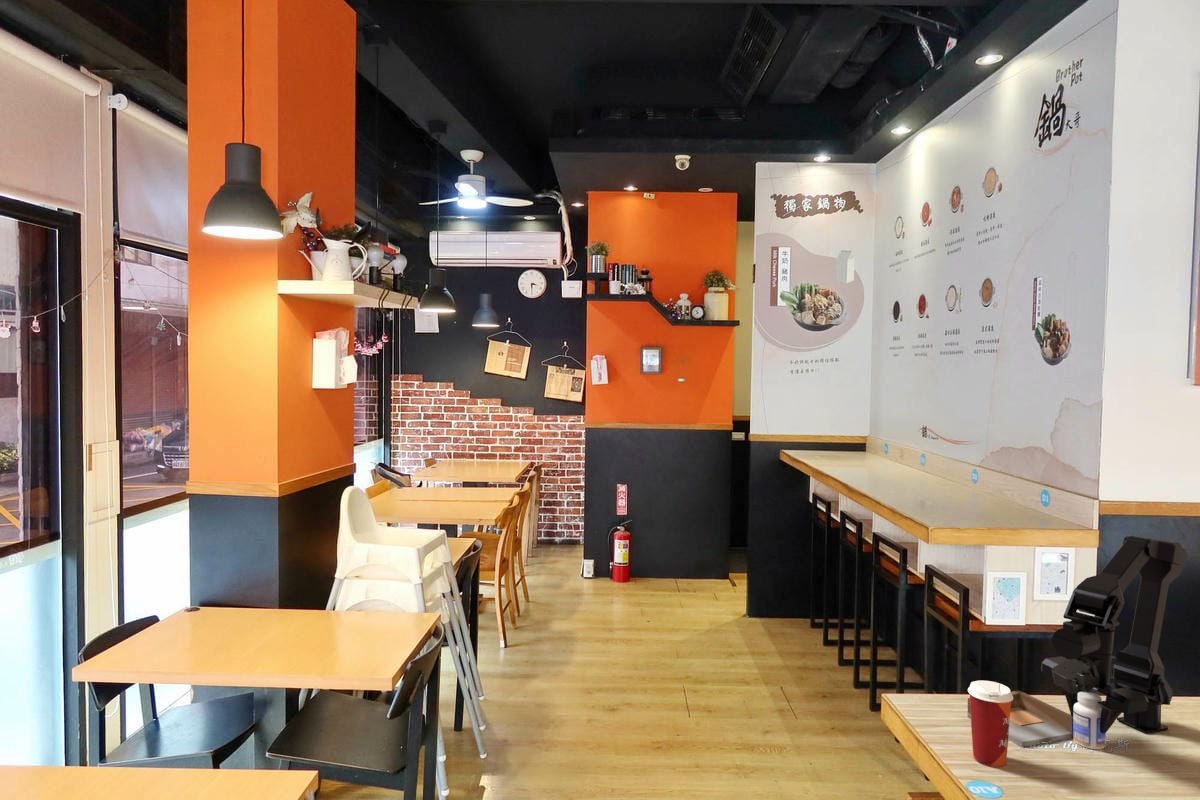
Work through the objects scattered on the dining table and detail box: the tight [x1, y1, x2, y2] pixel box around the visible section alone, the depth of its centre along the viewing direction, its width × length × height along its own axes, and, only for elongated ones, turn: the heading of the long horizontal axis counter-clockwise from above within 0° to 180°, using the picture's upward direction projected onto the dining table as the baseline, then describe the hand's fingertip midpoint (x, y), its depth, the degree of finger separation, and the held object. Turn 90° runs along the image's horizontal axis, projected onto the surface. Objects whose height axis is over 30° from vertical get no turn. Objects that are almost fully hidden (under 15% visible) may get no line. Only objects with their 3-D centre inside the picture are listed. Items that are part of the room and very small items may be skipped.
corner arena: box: [967, 690, 1073, 748], centre depth 155 cm, size 14×14×4 cm
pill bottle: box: [1072, 691, 1107, 750], centre depth 148 cm, size 5×5×10 cm
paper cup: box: [967, 679, 1013, 768], centre depth 141 cm, size 8×8×14 cm
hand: (1088, 724), depth 148 cm, fingers open, 6 cm apart
